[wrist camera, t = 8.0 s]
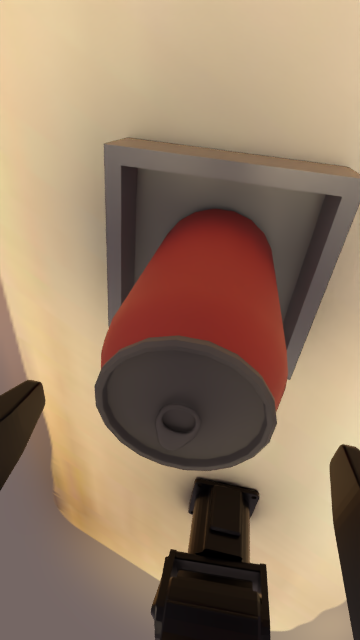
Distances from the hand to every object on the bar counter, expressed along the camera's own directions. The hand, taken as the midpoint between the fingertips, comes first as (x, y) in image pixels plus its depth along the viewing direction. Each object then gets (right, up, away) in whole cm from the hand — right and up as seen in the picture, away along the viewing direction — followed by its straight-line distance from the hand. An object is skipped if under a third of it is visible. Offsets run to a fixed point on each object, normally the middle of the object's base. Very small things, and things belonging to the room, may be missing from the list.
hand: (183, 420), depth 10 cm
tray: (+2, +7, +11) cm, 13 cm away
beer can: (+2, +7, +10) cm, 12 cm away
